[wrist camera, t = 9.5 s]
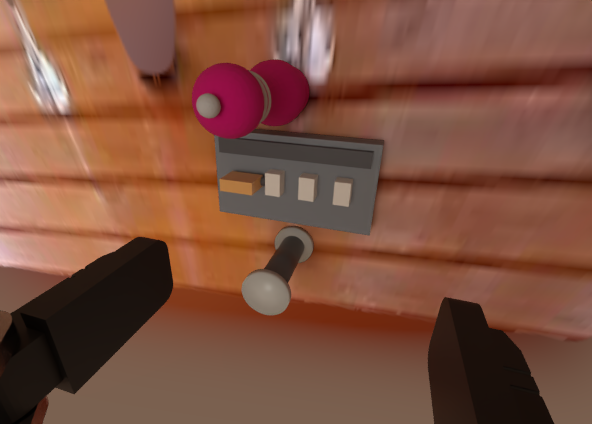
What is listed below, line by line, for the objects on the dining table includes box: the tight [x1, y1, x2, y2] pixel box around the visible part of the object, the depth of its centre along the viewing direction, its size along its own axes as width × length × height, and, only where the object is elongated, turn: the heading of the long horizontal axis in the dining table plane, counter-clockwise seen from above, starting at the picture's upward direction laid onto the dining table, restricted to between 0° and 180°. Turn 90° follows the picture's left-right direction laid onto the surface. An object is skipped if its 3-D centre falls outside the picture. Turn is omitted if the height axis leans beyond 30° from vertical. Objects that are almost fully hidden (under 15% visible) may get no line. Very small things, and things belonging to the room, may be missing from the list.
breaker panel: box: [214, 129, 384, 235], centre depth 42 cm, size 22×12×5 cm, turn 88°
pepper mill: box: [192, 60, 309, 139], centre depth 31 cm, size 7×7×20 cm
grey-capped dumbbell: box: [242, 226, 314, 315], centre depth 43 cm, size 6×6×13 cm
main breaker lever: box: [219, 171, 265, 195], centre depth 41 cm, size 5×2×4 cm, turn 88°
